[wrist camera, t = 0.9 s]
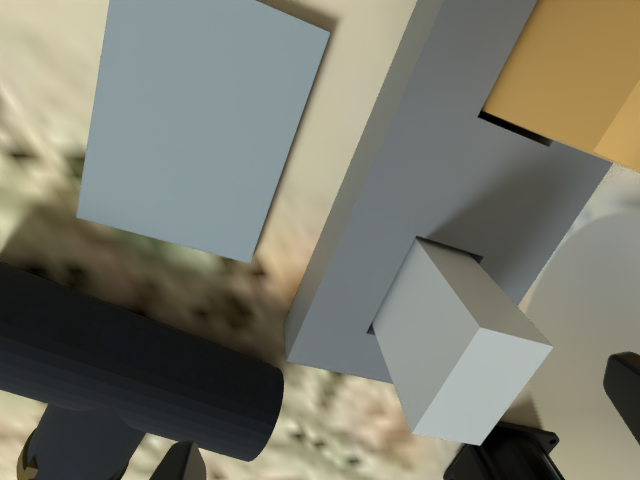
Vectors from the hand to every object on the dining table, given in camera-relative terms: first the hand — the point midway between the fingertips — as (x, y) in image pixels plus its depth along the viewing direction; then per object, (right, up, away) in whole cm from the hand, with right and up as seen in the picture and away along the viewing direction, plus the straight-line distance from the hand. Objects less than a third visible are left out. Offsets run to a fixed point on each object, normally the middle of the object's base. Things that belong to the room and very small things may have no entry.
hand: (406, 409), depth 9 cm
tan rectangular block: (+7, +12, +10) cm, 17 cm away
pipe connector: (-13, -4, +15) cm, 21 cm away
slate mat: (-7, +9, +9) cm, 14 cm away
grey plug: (+3, +2, +14) cm, 14 cm away
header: (+5, +7, +12) cm, 14 cm away
